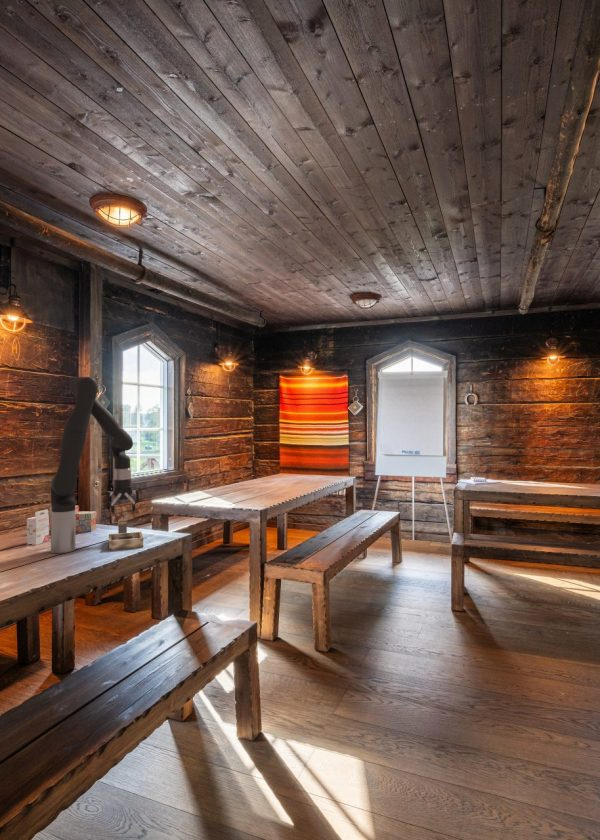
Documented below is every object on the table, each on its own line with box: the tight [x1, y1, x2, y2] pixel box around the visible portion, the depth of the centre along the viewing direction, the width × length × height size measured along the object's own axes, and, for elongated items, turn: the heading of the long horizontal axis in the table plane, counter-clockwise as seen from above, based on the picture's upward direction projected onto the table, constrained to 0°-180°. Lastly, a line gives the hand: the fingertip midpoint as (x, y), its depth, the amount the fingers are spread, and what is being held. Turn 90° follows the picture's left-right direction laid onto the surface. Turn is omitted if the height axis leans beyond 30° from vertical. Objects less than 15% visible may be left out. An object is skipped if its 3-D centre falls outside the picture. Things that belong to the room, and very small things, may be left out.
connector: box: [117, 518, 128, 534], centre depth 227 cm, size 4×4×9 cm
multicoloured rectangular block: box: [48, 505, 97, 533], centre depth 246 cm, size 21×6×12 cm, turn 88°
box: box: [108, 531, 144, 551], centre depth 216 cm, size 14×14×4 cm
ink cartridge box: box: [26, 508, 50, 546], centre depth 221 cm, size 9×5×15 cm, turn 168°
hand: (123, 512), depth 227 cm, fingers open, 8 cm apart
